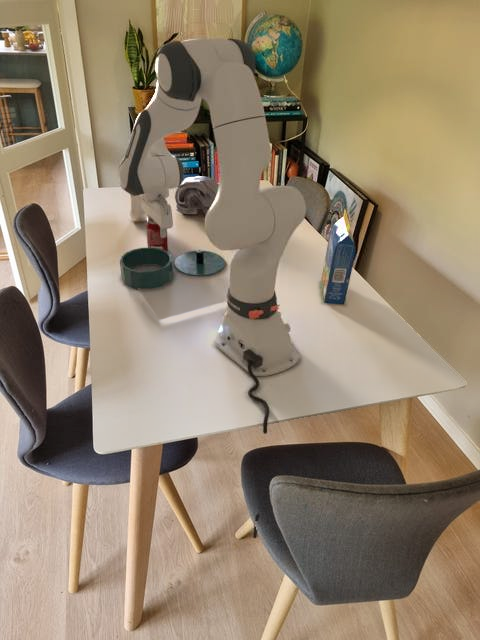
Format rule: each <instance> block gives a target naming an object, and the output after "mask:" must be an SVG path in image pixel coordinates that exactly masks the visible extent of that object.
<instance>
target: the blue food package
mask: <svg viewBox="0 0 480 640" xmlns="http://www.w3.org/2000/svg"><path fill="white" fill-rule="evenodd" d="M326 246H327V247H326V251H325V252H326V253H325V258H324V263H323V268H322V273H321V281H320V284H321V285H320V287H321V293H322V300H323V303H324V304H329V305H330V304H331V305H342V306H343V305H345V303H346V299H347V293H348V289H349V285H350V281H351V277H352V271H353V267H354V262H355V258H356V250H357V247H356V244H355V239H354V235H353V233H352V230H351V224H350V219H349V217H348V213H347V210H346V209H344V210H343V216H342V217H341V218H340V219H338V221H336V222H335V223H334V224H333V225H332V227H331V229H330V232H329V235H328V241H327V245H326Z"/></svg>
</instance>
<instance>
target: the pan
mask: <svg viewBox="0 0 480 640" xmlns="http://www.w3.org/2000/svg"><path fill="white" fill-rule="evenodd" d="M173 263H174V262H173V255H171V253H170V252H169V251H168V252H167V251H165V250H162V249H158V248H148V247H138V248H133V249H131V250H129V251H126V252H125V253H123V254H122V255H121V256H120V258H119V267H120V268H119V269H120V275H121V277H120V278H121V280H122V283H123V284H124V285H125V286H126V287H128V288H130V289H133V290H136V291H139V290H153V289H157V288H161V287H164V286H165V285H168V284H169V283H170V282H171V281H172V280H173V278H174V264H173ZM144 265H146V266H149V265H154V266H160V267H159V268H157V269H152V270H138V269H134V268H135V267H140V266H144Z"/></svg>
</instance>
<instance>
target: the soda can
mask: <svg viewBox="0 0 480 640" xmlns="http://www.w3.org/2000/svg"><path fill="white" fill-rule="evenodd" d="M145 230H146V241H147V242H146V243H147V248H158V249H162V250H165V251H167V252H169V241H168V230H167V231H166V237H164V238H161V237H160V235H159V231H160V226H159V225H158V224H157V223H156V222H155V221H154V220H153V219H152V218H151V217H150V218H148V217H147V222H146V224H145Z"/></svg>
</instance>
